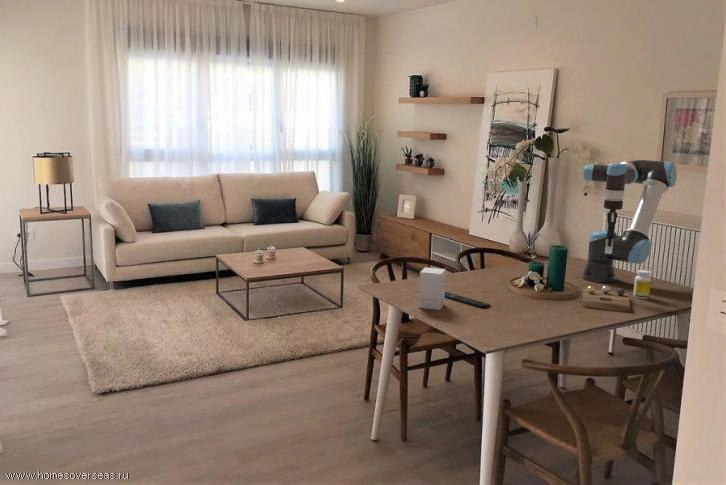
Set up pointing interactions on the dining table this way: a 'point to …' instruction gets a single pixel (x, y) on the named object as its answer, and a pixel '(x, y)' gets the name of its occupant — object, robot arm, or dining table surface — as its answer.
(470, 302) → the remote control
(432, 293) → the supplement box
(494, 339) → the dining table surface
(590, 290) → the brass ball
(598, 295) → the board
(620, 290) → the rubber ball
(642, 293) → the pill bottle
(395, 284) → the dining table surface
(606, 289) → the steel ball
